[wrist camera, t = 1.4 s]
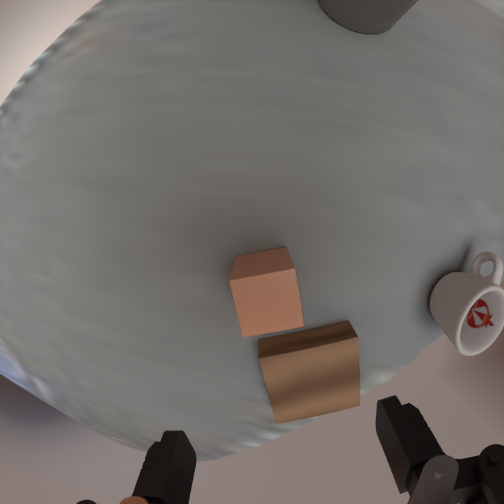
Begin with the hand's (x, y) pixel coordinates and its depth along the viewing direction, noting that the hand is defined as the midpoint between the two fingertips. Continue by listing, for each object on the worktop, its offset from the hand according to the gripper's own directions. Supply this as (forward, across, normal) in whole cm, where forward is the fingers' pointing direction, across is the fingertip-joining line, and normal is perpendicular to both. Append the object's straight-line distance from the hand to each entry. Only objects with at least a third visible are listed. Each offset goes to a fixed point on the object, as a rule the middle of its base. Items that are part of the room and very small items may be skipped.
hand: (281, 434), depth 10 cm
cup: (+20, -22, +6) cm, 30 cm away
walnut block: (+20, -3, +12) cm, 24 cm away
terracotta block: (+20, 0, 0) cm, 20 cm away
